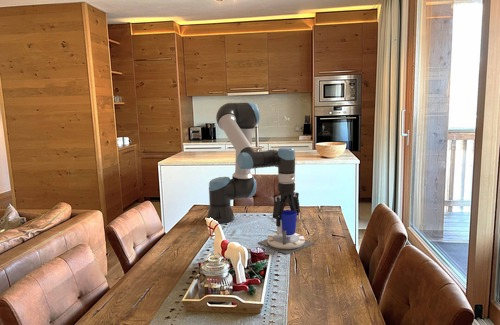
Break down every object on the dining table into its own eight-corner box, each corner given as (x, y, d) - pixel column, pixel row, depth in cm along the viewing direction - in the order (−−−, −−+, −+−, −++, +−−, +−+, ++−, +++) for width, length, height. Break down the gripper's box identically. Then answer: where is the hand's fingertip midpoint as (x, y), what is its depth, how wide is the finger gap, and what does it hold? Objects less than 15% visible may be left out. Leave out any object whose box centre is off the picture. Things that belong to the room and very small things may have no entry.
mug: (296, 228, 179) (296, 207, 177) (297, 237, 167) (297, 215, 165) (279, 227, 180) (279, 207, 178) (278, 236, 168) (278, 215, 166)
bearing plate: (258, 243, 174) (258, 237, 173) (285, 234, 185) (285, 228, 185) (286, 254, 160) (286, 247, 160) (314, 244, 172) (314, 237, 171)
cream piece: (276, 251, 162) (276, 233, 161) (261, 238, 178) (261, 222, 176) (311, 245, 167) (311, 229, 166) (294, 233, 183) (294, 218, 182)
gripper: (275, 186, 160) (275, 238, 163) (308, 180, 173) (308, 227, 177) (263, 184, 165) (264, 234, 169) (296, 177, 179) (296, 224, 182)
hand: (286, 230), depth 173 cm, fingers closed on mug, 8 cm apart
